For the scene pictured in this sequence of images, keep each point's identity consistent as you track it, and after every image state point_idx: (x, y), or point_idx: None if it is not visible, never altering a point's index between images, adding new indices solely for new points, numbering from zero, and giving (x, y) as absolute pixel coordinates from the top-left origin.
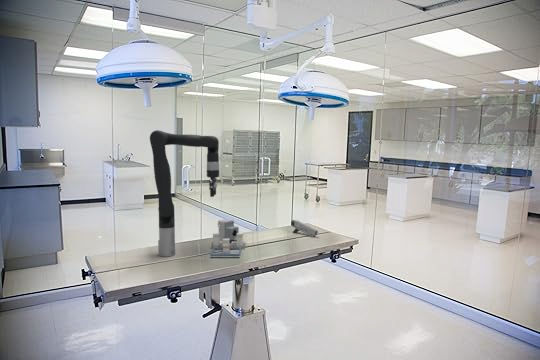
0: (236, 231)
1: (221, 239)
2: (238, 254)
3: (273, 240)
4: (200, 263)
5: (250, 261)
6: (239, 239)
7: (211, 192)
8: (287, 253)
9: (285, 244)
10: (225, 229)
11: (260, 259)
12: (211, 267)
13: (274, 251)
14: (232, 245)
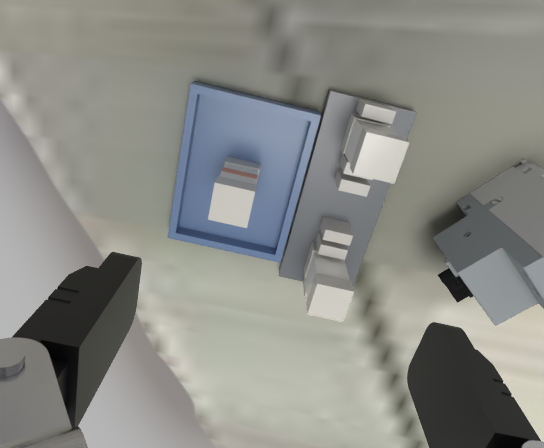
0: (468, 295)
1: (503, 185)
2: (168, 232)
3: None
4: (111, 13)
5: None
6: (311, 281)
7: (33, 333)
8: (211, 416)
9: (344, 442)
10: (503, 237)
11: (145, 309)
12: (41, 72)
13: (251, 382)
14: (322, 228)
